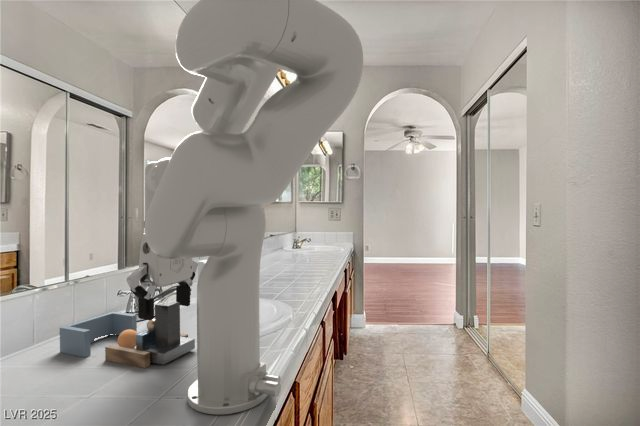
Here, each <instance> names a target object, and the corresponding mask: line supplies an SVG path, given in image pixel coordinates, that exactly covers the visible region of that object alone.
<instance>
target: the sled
mask: <svg viewBox="0 0 640 426" xmlns="http://www.w3.org/2000/svg"><path fill="white" fill-rule="evenodd" d="M146 329H147V330H145V331H141V332H139V333H138V334H136V346H135V350H141V351H146V352H150V363H153V364H159V365H166V364H168V363H170V362H171V361H174V360H175V359H177V358H180V357H181V356H183V355H185V354H187V353H189V352H191V351H193V350H195V348H196V341H195V340H196V339H195V338H192V337H188V338H187V337H181V336H180V333H181V305H180V302H176V301H173V300H164V301H162V302H159V303H154V318H153V319H152V320H147V322H146Z"/></svg>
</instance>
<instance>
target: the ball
mask: <svg viewBox="0 0 640 426" xmlns="http://www.w3.org/2000/svg"><path fill="white" fill-rule="evenodd" d="M136 334H139V333H138V331H137V332H136V331H134V330H131V329H129V330H125V331H123V332H122V333H121V334H120V335H119V336H118V337H117V340H116V341H117V346H119V347H125V348H130V349H135V348H136Z"/></svg>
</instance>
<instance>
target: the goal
mask: <svg viewBox="0 0 640 426" xmlns="http://www.w3.org/2000/svg"><path fill="white" fill-rule="evenodd" d="M137 316H138V315H137V314H133V313H129V312H128V313H126V312H119V311H110V312H108V313H104V314H100V315H97V316H94V317H90V318H87V319H83V320H81V321H77V322H74V323H70V324H67V325H64V326H59V352H60V353H62V354H63V353H64V354H68V355H73V356H78V357H80V358H81V357H83V358H86V357H88V356H89V357H90V356H91V344H92V343H94V342H93V341H94V339H95V338H98V337H101V336H105V335H110V334H116V335H120V334H121V333H122V332H123V331H125V330H129V329H131V330H134V331H136V332H137V333H138V331H137V330H138V329H137V328H138V326H137V324H138V322H137V320H138V319H137ZM116 335H115V336H116Z"/></svg>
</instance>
